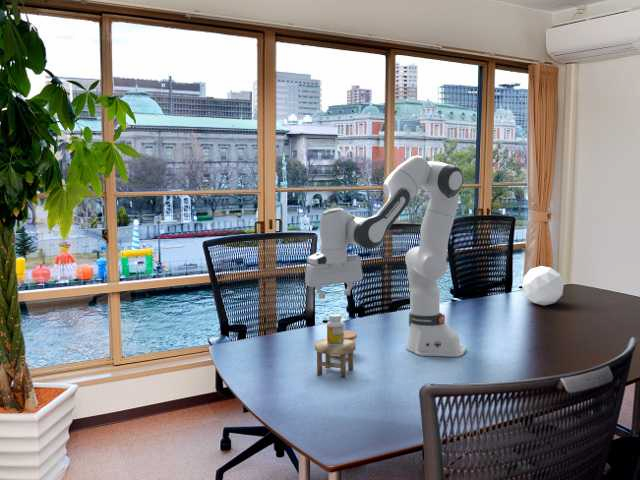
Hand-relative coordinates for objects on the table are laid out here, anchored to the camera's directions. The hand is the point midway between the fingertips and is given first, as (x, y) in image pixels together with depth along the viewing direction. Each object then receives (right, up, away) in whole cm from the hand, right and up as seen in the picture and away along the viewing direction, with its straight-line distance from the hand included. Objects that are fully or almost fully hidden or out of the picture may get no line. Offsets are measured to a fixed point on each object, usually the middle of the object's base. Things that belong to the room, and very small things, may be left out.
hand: (334, 296), depth 206 cm
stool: (0, -26, +3) cm, 27 cm away
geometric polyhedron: (+106, -13, +98) cm, 145 cm away
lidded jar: (+3, -24, +23) cm, 34 cm away
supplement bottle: (0, -17, +2) cm, 17 cm away
